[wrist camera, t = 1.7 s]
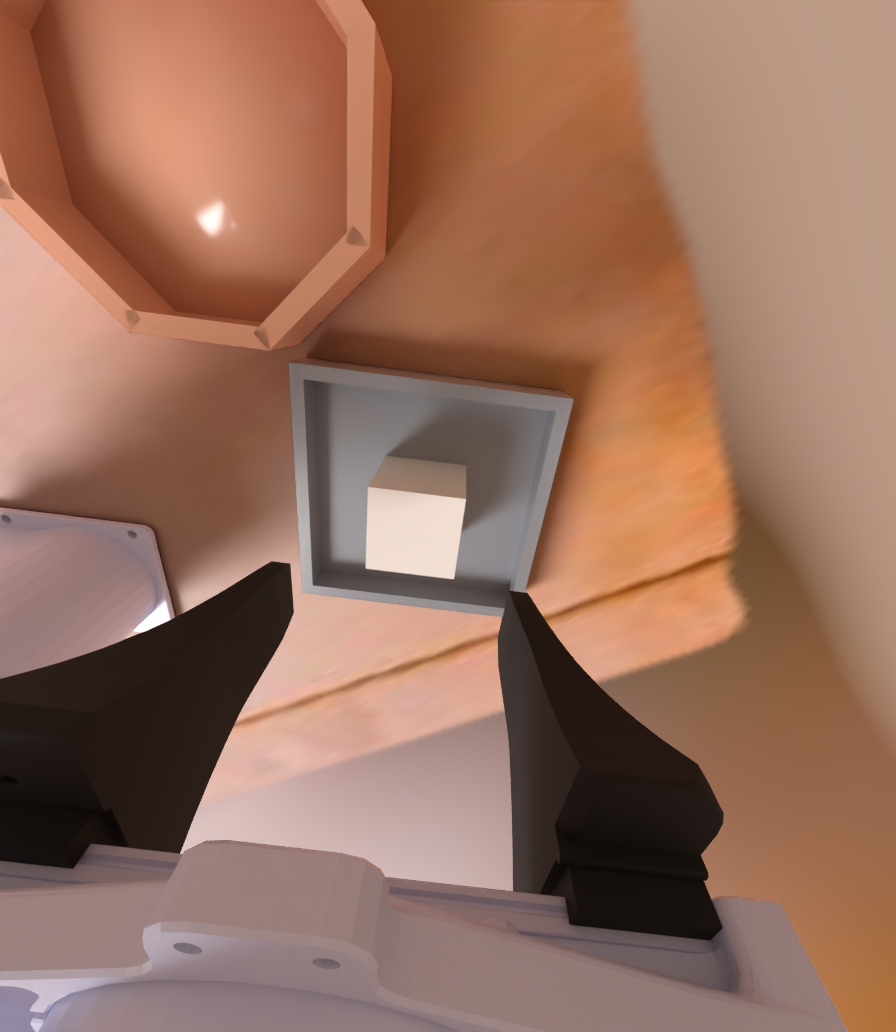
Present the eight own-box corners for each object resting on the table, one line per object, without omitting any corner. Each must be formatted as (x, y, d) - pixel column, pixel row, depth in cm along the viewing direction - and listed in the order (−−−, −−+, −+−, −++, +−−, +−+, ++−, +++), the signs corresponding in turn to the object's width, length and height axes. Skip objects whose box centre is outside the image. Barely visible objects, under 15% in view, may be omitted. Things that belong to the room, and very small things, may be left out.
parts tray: (314, 571, 24) (302, 592, 22) (305, 357, 19) (288, 362, 17) (514, 596, 24) (518, 618, 22) (563, 390, 19) (573, 399, 17)
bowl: (94, 318, 18) (30, 319, 16) (-26, -155, 12) (-163, -285, 10) (382, 355, 18) (367, 363, 16) (399, -93, 12) (381, -204, 10)
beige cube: (382, 526, 22) (365, 568, 18) (385, 455, 20) (367, 487, 16) (456, 535, 22) (453, 579, 18) (466, 465, 20) (466, 499, 16)
